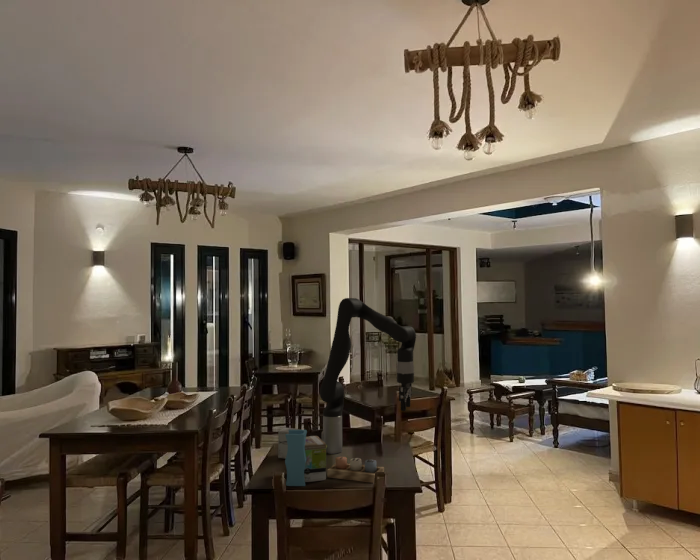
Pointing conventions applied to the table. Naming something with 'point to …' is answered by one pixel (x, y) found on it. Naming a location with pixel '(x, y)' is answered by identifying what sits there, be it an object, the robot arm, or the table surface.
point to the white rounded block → (355, 464)
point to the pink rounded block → (341, 463)
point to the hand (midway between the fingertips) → (405, 408)
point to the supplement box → (283, 442)
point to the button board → (352, 473)
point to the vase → (295, 457)
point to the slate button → (370, 466)
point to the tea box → (315, 459)
